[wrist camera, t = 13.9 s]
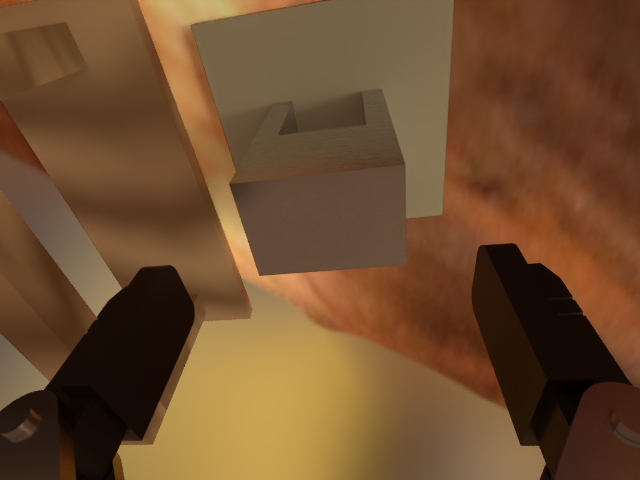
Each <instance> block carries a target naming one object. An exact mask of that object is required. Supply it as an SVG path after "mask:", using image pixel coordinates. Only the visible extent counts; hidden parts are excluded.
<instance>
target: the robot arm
mask: <svg viewBox="0 0 640 480" xmlns="http://www.w3.org/2000/svg"><path fill="white" fill-rule="evenodd" d="M472 305H473V310H474V314H475V317H476V320H477V323H478V326H479V328H480V331H481V334H482V337H483V340H484V343H485V346H486V348H487V351H488V354H489V357H490V360H491V363H492V365H493V368H494V371H495V374H496V377H497V380H498V383H499V385H500V388H501V391H502V394H503V397H504V400H505V402H506V405H507V408H508V411H509V414H510V417H511V420H512V422H513V425H514V428H515V431H516V434H517V436H518V439H519V442H520V445H521V446H539V447H540V449H541V452H542V454H543V457H544V459H545V462H546V465H545V467H544V469H543V472H542V475H541V477H540V480H640V388H637V387H634V386H633V385H632V384H631V383H630V381H629V380H628V379H627V377H626V376H625V374H624V373H623V371H622V370H621V368H620V367H619V365H618V364H617V362H616V361H615V359H614V358H613V356H612V355H611V353H610V352H609V350H608V349H607V347H606V346H605V344H604V343H603V341H602V340H601V338H600V337H599V335H598V334H597V332H596V331H595V329H594V328H593V326H592V325H591V323H590V322H589V320H588V319H587V317H586V316H583V311H582V310H581V308H580V307H579V305H578V304H577V302H576V301H575V300H573V299H572V295H571V293H570V292H569V290H568V289H567V287H566V286H565V284H564V283H563V281H562V280H561V278H560V277H558V276H557V275H556V274H554V273H553V272H552V271H550V270H549V269H548V268H546V267H545V266H544V265H542V264H541V263H535V264H527V262H526V260H525V258H524V257H523V255H522V253H521V252H520V250H519V248H518V247H517V245H516V244H514V243H509V244H494V245H481V246H480V247H479V248H478V252H477V259H476V265H475V272H474V279H473V285H472ZM194 319H195V308H194V304H193V302H192V300H191V298H190V296H189V294H188V292H187V290H186V288H185V286H184V284H183V282H182V280H181V278H180V276H179V274H178V272H177V270H176V269H175V267H173V266H172V265H162V266H147V267H142V268H141V269H140V270H139V271H138V272H137V274H136V275H135V276H134V278H133V279H132V281H131V282H130V284H129V285H128V286H125V287H124V288H123V289H122V290H121V291H120V292H118V293H117V294H116V295H115V296H114V297H112V298H111V299H110V300H109V301H108V302H107V304H106V305H105V306H104V308H103V309H102V310H101V312H100V313H99V315H98V316H97V320H94V322H93V323H92V324H91V326H90V327H89V328H88V330H87V331H88V332H87V334H84V335H83V337H82V338H81V340H80V341H79V342H78V344H77V345H76V346H75V348H74V349H73V351H72V352H71V353H70V355H69V356H68V358H67V359H66V360H65V362H64V363H63V364H62V366H61V367H60V369H59V370H58V371H57V373H56V374H55V376H54V377H53V378H52V380H51V381H50V382H49V384H48V385H47V386H46V388H45V389H44V390H39V391H34V392H31V393H28V394H26V395H24V396H21V397H20V398H18V399H16V400H14V401H13V402H12V403H10V404H9V405H8V406H6V407H5V408H4V409H2V410H1V411H0V480H124V474H123V468H122V463H121V459H120V456H119V455H118V453H117V451H118V449H119V446H120V444H121V442H122V441H142V440H143V438H144V435H145V433H146V431H147V429H148V426H149V424H150V422H151V419H152V417H153V415H154V413H155V410H156V408H157V406H158V404H159V401H160V399H161V397H162V394H163V392H164V390H165V388H166V385H167V383H168V381H169V378H170V376H171V374H172V372H173V369H174V367H175V365H176V363H177V360H178V358H179V356H180V353H181V351H182V349H183V347H184V344H185V342H186V340H187V338H188V335H189V333H190V331H191V328H192V326H193V323H194Z"/></svg>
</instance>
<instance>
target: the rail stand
mask: <svg viewBox="0 0 640 480" xmlns="http://www.w3.org/2000/svg"><path fill="white" fill-rule="evenodd" d="M0 100H1V102H2V103H3V105H4V106H5V108H6V109H7V111H8V112H9V114H10V116H11V117H12V119H13V120H14V122H15V123H16V125H17V126H18V128H19V130H20V131H21V133H22V134H23V136H24V137H25V139H26V140H27V142H28V143H29V145H30V147H31V148H32V150H33V151H34V153H35V154H36V156H37V157H38V159H39V160H40V162H41V164H42V165H43V167H44V168H45V170H46V171H47V173H48V174H49V176H50V177H51V179H52V181H53V182H54V184H55V185H56V187H57V188H58V190H59V191H60V193H61V194H62V196H63V198H64V199H65V201H66V202H67V204H68V205H69V207H70V208H71V210H72V211H73V213H74V215H75V216H76V218H77V219H78V221H79V222H80V224H81V225H82V227H83V229H84V230H85V232H86V233H87V235H88V236H89V238H90V239H91V241H92V242H93V244H94V245H95V247H96V248H97V250H98V252H99V253H100V255H101V256H102V258H103V259H104V261H105V262H106V264H107V265H108V267H109V269H110V270H111V272H112V273H113V275H114V276H115V278H116V280H117V281H118V283H119V284H120V286H121V287H122V289H123V288H124V287H125V286H128V285H129V284H130V282H131V281H132V279H133V278H134V276H135V275H136V274H137V272H138V271H139V270H140V269H141V268H142V267H147V266H162V265H172V266H173V267H175V269H176V270H177V272H178V274H179V276H180V278H181V280H182V282H183V284H184V286H185V288H186V290H187V292H188V294H189V296H190V298H191V300H192V302H193V304H194V308H195V319H194V323H193V326H192V328H191V331H190V333H189V335H188V338H187V340H186V342H185V344H184V347H183V349H182V351H181V353H180V356H179V358H178V360H177V363H176V365H175V367H174V369H173V372H172V374H171V376H170V378H169V381H168V383H167V385H166V388H165V390H164V392H163V394H162V397H161V399H160V401H159V404H158V406H157V408H156V410H155V413H154V415H153V417H152V419H151V422H150V424H149V426H148V429H147V431H146V433H145V435H144V438H143V440H142V441H122V442H121V444H120V445H146V444H147V445H148V444H149V445H150V444H153V443H154V440H155V438H156V435H157V433H158V430H159V428H160V425H161V422H162V420H163V418H164V416H165V413H166V411H167V408H168V406H169V403H170V401H171V398H172V395H173V394H174V391H175V389H176V386H177V384H178V381H179V379H180V376H181V374H182V371H183V369H184V367H185V364H186V362H187V359H188V357H189V354H190V352H191V349H192V347H193V345H194V342H195V340H196V337H197V335H198V332H199V330H200V327H201V325H202V323H203V321H215V320H232V319H248V318H250V316H251V313H252V306H251V303H250V301H249V298H248V295H247V293H246V290H245V287H244V285H243V282H242V279H241V277H240V274H239V271H238V269H237V266H236V263H235V261H234V258H233V255H232V253H231V250H230V247H229V245H228V242H227V239H226V237H225V234H224V231H223V229H222V226H221V223H220V221H219V218H218V215H217V212H216V210H215V207H214V204H213V202H212V199H211V196H210V194H209V191H208V188H207V186H206V183H205V180H204V178H203V175H202V172H201V170H200V167H199V164H198V162H197V159H196V156H195V154H194V151H193V148H192V146H191V143H190V140H189V138H188V135H187V132H186V130H185V127H184V124H183V122H182V119H181V116H180V114H179V111H178V108H177V106H176V103H175V100H174V98H173V95H172V92H171V90H170V87H169V84H168V82H167V79H166V76H165V73H164V71H163V68H162V65H161V63H160V60H159V57H158V55H157V52H156V49H155V47H154V44H153V41H152V39H151V36H150V33H149V31H148V28H147V25H146V23H145V20H144V17H143V15H142V12H141V9H140V7H139V4H138V1H137V0H35V1H30V2H25V3H20V4H15V5H10V6H5V7H0ZM94 320H97V317H96V316H95V315H94V313H93V312H92V310H91V309H90V308H89V307H88V305H87V304H86V302H85V301H84V300H83V298H81V296H80V294H79V293H78V292H77V290H76V289H75V288H74V287H73V285H72V284H71V283H70V282H69V280H68V279H67V277H66V276H65V275H64V273H63V272H62V271H61V269H60V268H59V267H58V265H57V264H56V263H55V261H54V260H53V259H52V257H51V256H50V255H49V253H48V252H47V251H46V249H45V248H44V247H43V245H42V244H41V243H40V241H39V240H38V239H37V237H36V236H35V235H34V233H33V232H32V231H31V229H30V228H29V227H28V225H27V224H26V223H25V221H24V220H23V219H22V217H21V216H20V215H19V213H18V212H17V211H16V209H15V208H14V207H13V205H12V204H11V203H10V201H9V200H8V199H7V197H6V196H5V195H4V193H3V192H2V191H1V189H0V333H1V334H2V335H3V336H4V337H5V338H6V339H7V340H8V341H9V342H10V343H11V344H12V345H13V346H14V347H15V348H16V349H17V350H18V351H19V352H20V353H21V354H22V355H23V356H24V357H25V358H26V359H27V360H29V362H31V363H32V364H33V365H34V366H35V367H36V368H37V369H38V370H39V371H40V372H41V373H42V374H43V375H44V376H45V377H46V378H47V379H48V380H49V381H51V380H52V378H53V377H54V376H55V374H56V373H57V371H58V370H59V369H60V367H61V366H62V364H63V363H64V362H65V360H66V359H67V358H68V356H69V355H70V353H71V352H72V351H73V349H74V348H75V346H76V345H77V344H78V342H79V341H80V340H81V338H82V337H83V335H84V334H87V332H88V331H87V330H88V328H89V327H90V326H91V324H92V323H93V322H94Z"/></svg>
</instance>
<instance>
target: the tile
mask: <svg viewBox="0 0 640 480" xmlns="http://www.w3.org/2000/svg"><path fill="white" fill-rule="evenodd" d="M453 9H454V0H324V1H318V2H313V3H307V4H302V5H296V6H290V7H285V8H279V9H274V10H268V11H262V12H257V13H251V14H246V15H240V16H234V17H229V18H223V19H217V20H212V21H206V22H201V23H196V24H193V25H191V28H192V31H193V35H194V38H195V41H196V44H197V47H198V51H199V54H200V57H201V60H202V63H203V67H204V70H205V73H206V76H207V79H208V83H209V86H210V89H211V92H212V95H213V99H214V102H215V105H216V108H217V111H218V115H219V118H220V121H221V124H222V127H223V131H224V134H225V137H226V140H227V143H228V147H229V150H230V153H231V156H232V160H233V163H234V166H235V169H236V171H237V169H238V167H239V165H240V164H241V162H242V160H243V158H244V156H245V155H246V153H247V151H248V149H249V147H250V145H251V144H252V142H253V140H254V138H255V136H256V135H257V133H258V131H259V129H260V127H261V125H262V124H263V122H264V120H265V118H266V116H267V114H268V113H269V111H270V109H271V107H272V105H273V104H274V103H280V102H287V101H292V102H293V107H294V113H295V118H296V123H297V129H298V133H302V132H310V131H318V130H326V129H334V128H342V127H350V126H358V125H364V114H363V101H362V91H367V90H374V89H381V88H382V91H383V94H384V97H385V101H386V104H387V107H388V110H389V113H390V116H391V120H392V123H393V126H394V129H395V132H396V136H397V139H398V142H399V145H400V148H401V152H402V155H403V158H404V161H405V164H406V218H415V217H426V216H436V215H442V209H443V191H444V173H445V155H446V136H447V118H448V100H449V82H450V64H451V45H452V27H453Z"/></svg>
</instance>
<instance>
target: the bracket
mask: <svg viewBox="0 0 640 480" xmlns="http://www.w3.org/2000/svg"><path fill="white" fill-rule="evenodd" d="M362 101H363V114H364V125H358V126H350V127H342V128H334V129H326V130H318V131H310V132H302V133H298V129H297V123H296V118H295V113H294V107H293V102H292V101H287V102H280V103H274V104H273V105H272V107H271V109H270V111H269V113H268V114H267V116H266V118H265V120H264V122H263V124H262V125H261V127H260V129H259V131H258V133H257V135H256V136H255V138H254V140H253V142H252V144H251V145H250V147H249V149H248V151H247V153H246V155H245V156H244V158H243V160H242V162H241V164H240V165H239V167H238V169H237V171H236V173H235V175H234V176H233V178H232V180H231V182H230V187H231V191H232V194H233V197H234V200H235V203H236V206H237V209H238V212H239V215H240V218H241V221H242V224H243V227H244V230H245V233H246V236H247V239H248V243H249V246H250V249H251V252H252V255H253V258H254V261H255V264H256V267H257V270H258V273H259V276H263V275H277V274H290V273H304V272H317V271H331V270H344V269H358V268H372V267H385V266H399V265H406V164H405V161H404V158H403V155H402V152H401V148H400V145H399V142H398V139H397V136H396V132H395V129H394V126H393V123H392V120H391V116H390V113H389V110H388V107H387V104H386V101H385V97H384V94H383V91H382V88H381V89H374V90H367V91H362Z"/></svg>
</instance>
